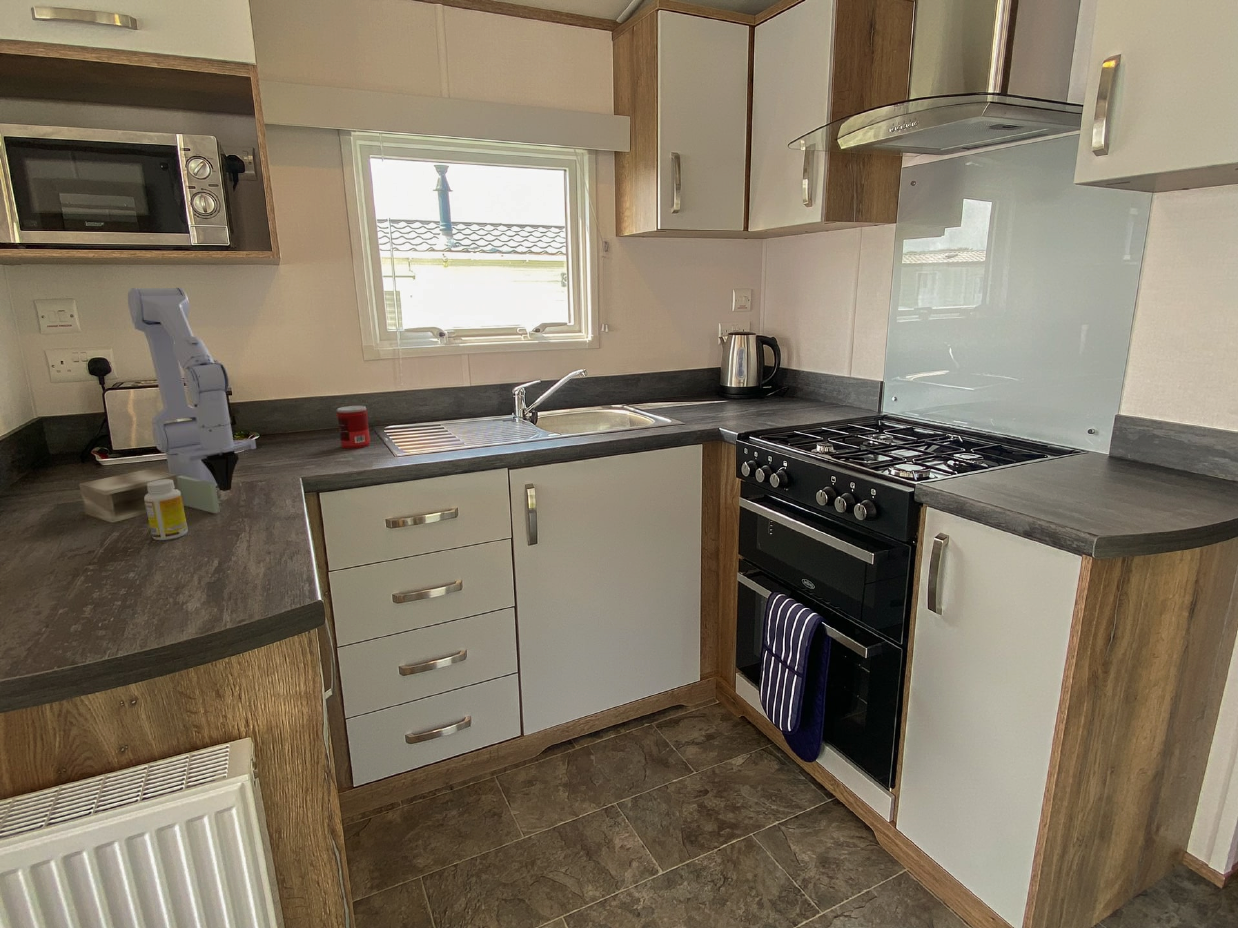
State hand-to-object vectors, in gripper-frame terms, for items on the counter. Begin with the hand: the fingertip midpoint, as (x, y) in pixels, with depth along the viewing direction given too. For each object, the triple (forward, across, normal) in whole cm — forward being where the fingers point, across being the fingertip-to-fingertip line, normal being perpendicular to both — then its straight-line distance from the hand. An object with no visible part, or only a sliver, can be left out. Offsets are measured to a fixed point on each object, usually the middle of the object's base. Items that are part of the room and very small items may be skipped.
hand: (225, 489), depth 140 cm
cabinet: (+4, -10, +16) cm, 19 cm away
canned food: (+4, +51, +24) cm, 56 cm away
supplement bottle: (+4, -15, -8) cm, 18 cm away
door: (+3, -3, +3) cm, 6 cm away
